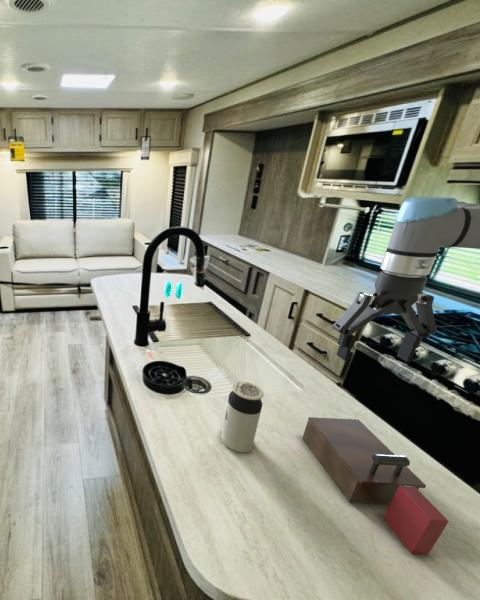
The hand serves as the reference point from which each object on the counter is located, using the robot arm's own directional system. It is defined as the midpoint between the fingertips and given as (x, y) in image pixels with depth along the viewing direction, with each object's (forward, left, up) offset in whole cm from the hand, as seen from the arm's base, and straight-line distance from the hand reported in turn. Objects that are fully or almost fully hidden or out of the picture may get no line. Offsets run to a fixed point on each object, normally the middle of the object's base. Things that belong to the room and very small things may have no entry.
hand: (372, 358), depth 74 cm
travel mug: (+12, +23, -29) cm, 39 cm away
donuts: (+114, -28, -29) cm, 121 cm away
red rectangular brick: (-19, +10, -29) cm, 36 cm away
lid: (-5, +4, -22) cm, 23 cm away
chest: (-5, +3, -29) cm, 30 cm away
